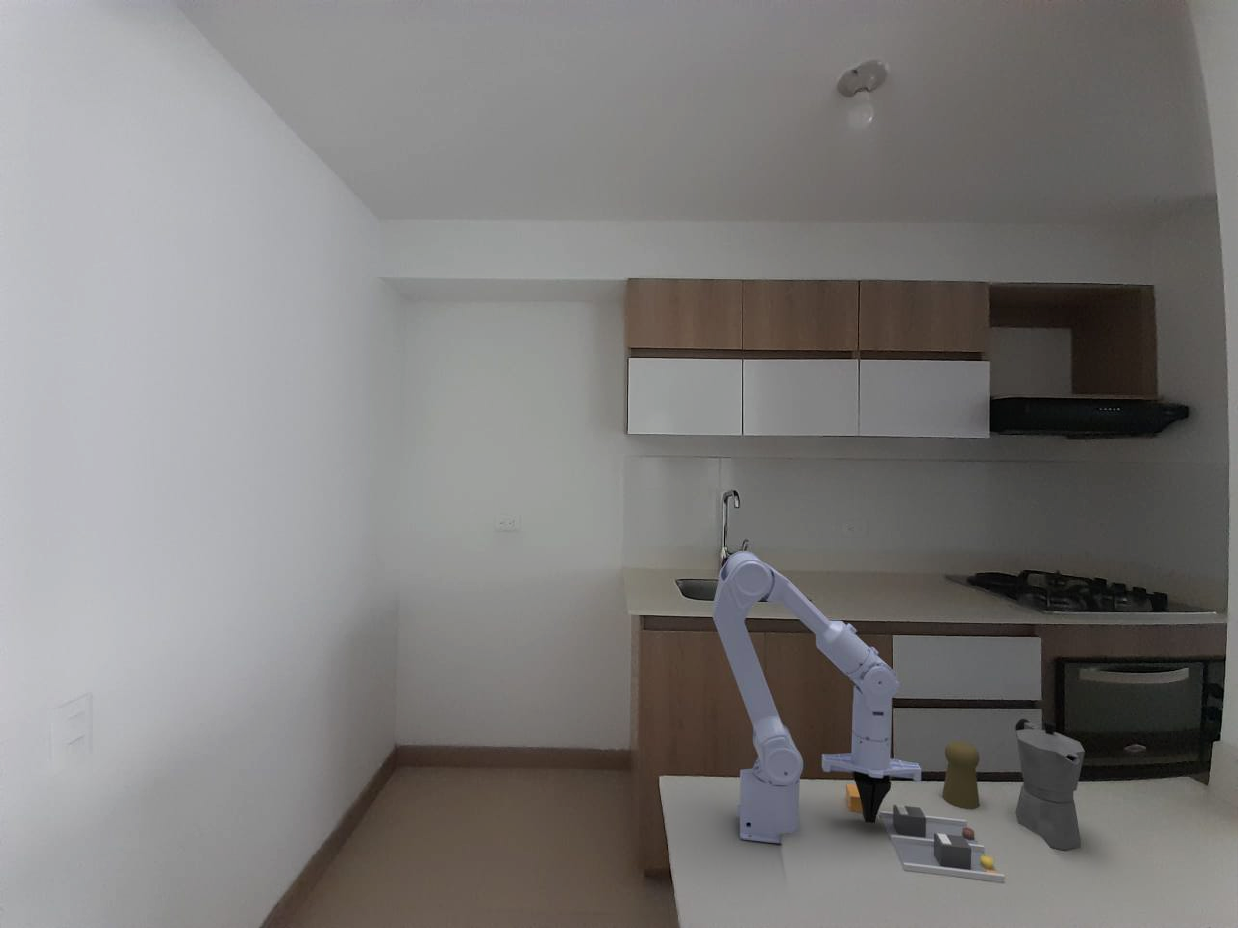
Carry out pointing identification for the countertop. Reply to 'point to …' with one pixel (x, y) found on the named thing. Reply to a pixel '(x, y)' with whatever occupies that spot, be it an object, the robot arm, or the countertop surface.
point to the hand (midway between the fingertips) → (869, 819)
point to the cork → (961, 776)
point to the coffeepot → (1049, 784)
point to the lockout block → (853, 798)
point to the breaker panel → (920, 850)
